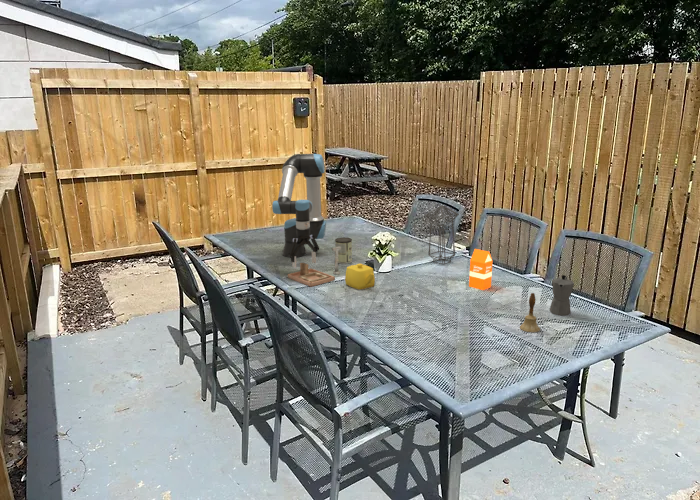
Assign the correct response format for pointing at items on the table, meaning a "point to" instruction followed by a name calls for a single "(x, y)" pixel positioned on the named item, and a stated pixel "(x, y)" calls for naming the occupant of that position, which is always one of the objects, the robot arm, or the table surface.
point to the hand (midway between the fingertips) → (304, 265)
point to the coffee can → (344, 250)
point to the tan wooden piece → (309, 274)
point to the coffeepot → (561, 296)
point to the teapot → (359, 276)
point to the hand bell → (530, 318)
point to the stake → (336, 260)
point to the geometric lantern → (442, 231)
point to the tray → (296, 277)
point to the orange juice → (480, 270)
